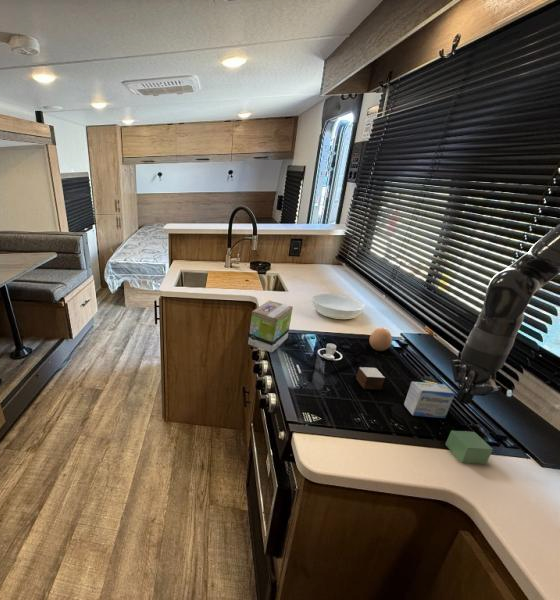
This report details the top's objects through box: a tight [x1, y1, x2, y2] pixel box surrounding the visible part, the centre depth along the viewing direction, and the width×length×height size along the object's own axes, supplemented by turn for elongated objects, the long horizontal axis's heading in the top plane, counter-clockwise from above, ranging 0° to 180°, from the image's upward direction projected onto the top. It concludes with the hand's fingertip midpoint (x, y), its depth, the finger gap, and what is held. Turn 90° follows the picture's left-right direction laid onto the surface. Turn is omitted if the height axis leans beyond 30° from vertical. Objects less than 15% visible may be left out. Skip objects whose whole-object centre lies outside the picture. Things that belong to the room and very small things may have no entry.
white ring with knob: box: [317, 342, 343, 361], centre depth 110 cm, size 9×8×4 cm
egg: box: [368, 327, 393, 352], centre depth 112 cm, size 7×7×9 cm
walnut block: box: [355, 366, 386, 391], centre depth 94 cm, size 5×5×5 cm
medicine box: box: [403, 381, 456, 419], centre depth 83 cm, size 8×4×9 cm, turn 81°
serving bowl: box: [311, 293, 365, 320], centre depth 142 cm, size 21×21×7 cm
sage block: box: [444, 430, 494, 465], centre depth 70 cm, size 5×5×5 cm
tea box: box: [247, 300, 294, 354], centre depth 118 cm, size 15×10×15 cm
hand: (462, 401), depth 82 cm, fingers closed
